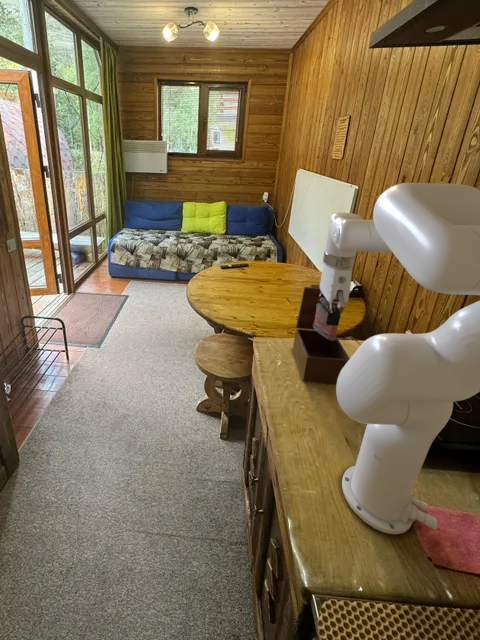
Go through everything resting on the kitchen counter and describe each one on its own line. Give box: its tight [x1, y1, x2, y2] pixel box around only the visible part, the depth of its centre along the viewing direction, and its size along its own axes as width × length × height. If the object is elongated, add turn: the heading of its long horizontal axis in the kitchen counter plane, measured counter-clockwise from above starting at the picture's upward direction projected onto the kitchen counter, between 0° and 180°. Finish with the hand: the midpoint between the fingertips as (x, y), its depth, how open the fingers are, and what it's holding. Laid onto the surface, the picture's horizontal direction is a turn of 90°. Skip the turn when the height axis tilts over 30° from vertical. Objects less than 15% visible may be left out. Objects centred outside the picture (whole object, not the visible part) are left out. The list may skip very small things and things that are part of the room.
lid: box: [295, 283, 338, 330], centre depth 104 cm, size 16×13×6 cm
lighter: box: [313, 297, 342, 340], centre depth 88 cm, size 8×3×10 cm, turn 19°
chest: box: [292, 328, 351, 385], centre depth 100 cm, size 16×13×9 cm
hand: (327, 316), depth 88 cm, fingers closed on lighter, 7 cm apart
